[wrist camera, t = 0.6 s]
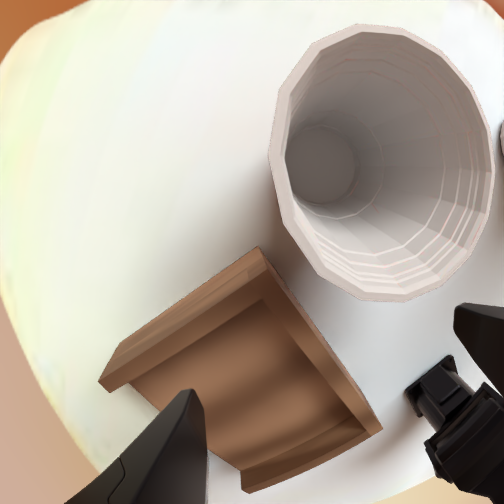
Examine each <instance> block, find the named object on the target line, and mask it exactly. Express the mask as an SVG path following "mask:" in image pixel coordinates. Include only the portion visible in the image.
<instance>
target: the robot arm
mask: <svg viewBox="0 0 504 504" xmlns="http://www.w3.org/2000/svg"><path fill="white" fill-rule="evenodd" d="M453 329H454V332H455V334H456V335H457V337H458V338H459V340H460V341H461V343H462V344H463V345H464V347H465V348H466V350H467V351H468V353H469V354H470V356H471V357H472V359H473V360H474V362H475V363H476V364H477V365H478V367H479V368H480V369H481V370H482V371H483V373H484V374H485V375H486V376H487V378H488V379H489V380H490V381H491V383H492V384H493V385H494V386H495V388H496V389H497V390H498V391H499V393H500V394H501V395H502V396H501V395H499V394H498V393H497V392H496V391H495V390H494V389H493V388H491V387H490V386H489V385H488V384H487V383H486V382H483V383H482V384H481V387H480V388H479V389H478V390H477V391H476V392H474V391H473V390H472V389H471V388H470V387H469V386H468V385H467V384H466V383H465V382H464V381H463V380H462V379H461V378H460V377H459V376H458V372H457V368H456V365H455V361H454V357H453V356H452V355H448V356H447V357H446V358H444V359H443V360H442V361H441V362H440V363H439V364H437V365H436V366H435V367H434V368H433V369H431V370H430V371H429V372H428V373H426V374H425V375H424V376H423V377H421V378H420V379H419V380H417V381H416V382H415V383H414V384H412V385H411V386H410V387H408V388H407V389H406V391H405V392H406V395H407V397H408V399H409V401H410V403H411V405H412V407H413V409H414V411H415V413H416V415H417V416H418V417H422V416H423V415H424V416H425V417H426V419H427V420H428V422H429V423H430V424H431V426H432V427H433V428H434V430H435V431H436V433H435V434H434V435H433V436H432V437H431V438H430V439H427V440H426V441H425V442H424V445H425V447H426V449H425V450H426V452H427V454H428V456H429V458H430V460H431V462H432V464H433V467H434V471H435V475H436V477H437V478H443V479H444V480H446V481H447V482H449V483H450V484H452V483H453V482H454V484H455V485H456V486H457V488H458V489H459V490H461V491H464V492H468V493H472V494H476V495H481V496H484V497H488V498H490V500H491V501H492V503H493V504H504V307H497V306H488V305H480V304H472V303H462V304H460V305H458V306H456V307H455V310H454V323H453ZM119 457H120V458H119ZM119 457H118V458H117V459H116V460H115V461H114V462H113V463H112V464H111V465H110V466H109V467H108V468H107V469H106V470H104V471H103V472H102V473H101V474H100V475H99V476H98V477H97V478H96V479H95V480H93V481H92V482H91V483H90V484H88V485H87V486H86V487H85V488H84V489H82V490H81V491H80V492H79V493H77V494H76V495H75V496H73V497H72V498H71V499H69V500H68V501H67V502H66V503H64V504H205V498H206V474H207V439H206V426H205V413H204V408H203V406H202V404H201V402H200V399H199V397H198V395H197V393H196V391H195V390H194V389H192V388H190V389H184V390H181V391H180V392H179V393H178V394H177V395H176V396H175V397H174V398H173V399H172V400H171V401H170V403H169V404H168V405H167V406H166V407H165V408H164V409H163V410H162V411H161V412H160V413H159V414H158V416H157V417H156V418H155V419H154V420H153V421H152V422H151V423H150V424H149V425H148V426H147V427H146V428H145V429H144V431H143V432H142V433H141V434H140V435H139V436H138V437H137V438H136V439H135V440H134V441H133V442H132V443H131V444H130V445H129V446H128V447H127V448H126V449H125V450H124V451H123V452H122V454H121V455H120V456H119Z"/></svg>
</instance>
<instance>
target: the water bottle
mask: <svg viewBox="0 0 504 504" xmlns="http://www.w3.org/2000/svg"><path fill="white" fill-rule="evenodd" d="M500 138H501V146H502V153H503V156H504V121H503V123H502V129H501V134H500Z"/></svg>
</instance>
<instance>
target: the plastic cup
mask: <svg viewBox="0 0 504 504" xmlns="http://www.w3.org/2000/svg"><path fill="white" fill-rule="evenodd" d="M268 158H269V162H270V167H271V171H272V176H273V180H274V184H275V189H276V193H277V198H278V203H279V207H280V212H281V216H282V221H283V224H284V226H285V227H286V229H287V230H288V232H289V233H290V234H291V236H292V237H293V239H294V240H295V242H296V243H297V245H298V246H299V248H300V249H301V250H302V252H303V253H304V255H305V256H306V258H307V259H308V261H309V262H310V264H311V265H312V267H313V268H314V270H315V271H316V273H317V274H318V275H319V276H321V277H323V278H324V279H326V280H328V281H329V282H331V283H333V284H334V285H336V286H338V287H340V288H341V289H343V290H345V291H346V292H348V293H350V294H351V295H353V296H355V297H356V298H358V299H360V300H365V301H384V302H406V301H408V300H411V299H413V298H415V297H418V296H420V295H422V294H425V293H427V292H429V291H431V290H434V289H436V288H438V287H440V286H442V285H443V284H444V283H445V282H446V281H447V280H448V279H449V278H450V277H451V276H452V275H453V274H454V273H455V272H456V271H457V270H458V269H459V268H460V267H461V266H462V264H463V263H464V262H465V261H466V260H467V259H468V258H469V257H470V256H471V254H472V252H473V250H474V248H475V246H476V244H477V242H478V240H479V237H480V235H481V233H482V231H483V229H484V227H485V224H486V222H487V220H488V218H489V213H490V207H491V201H492V195H493V188H494V181H495V164H494V155H493V147H492V139H491V133H490V128H489V125H488V122H487V120H486V117H485V115H484V112H483V110H482V108H481V105H480V103H479V101H478V99H477V96H476V94H475V92H474V90H473V88H472V86H471V84H470V83H469V82H468V81H467V79H466V78H465V77H464V76H463V75H462V73H461V72H460V71H459V70H458V69H457V67H456V66H455V65H454V64H453V63H452V62H451V61H450V59H449V58H448V57H447V56H446V55H445V54H444V53H443V52H442V51H441V50H440V49H438V48H436V47H435V46H433V45H431V44H430V43H428V42H426V41H425V40H423V39H421V38H419V37H418V36H416V35H414V34H412V33H410V32H408V31H406V30H404V29H403V28H397V27H389V26H379V25H367V24H355V25H352V26H350V27H347V28H345V29H343V30H340V31H338V32H336V33H333V34H331V35H329V36H327V37H324V38H322V39H320V40H318V41H316V42H314V43H312V44H311V45H310V47H309V48H308V49H307V51H306V52H305V53H304V55H303V56H302V58H301V59H300V60H299V62H298V63H297V65H296V66H295V67H294V69H293V70H292V71H291V73H290V74H289V76H288V77H287V79H286V80H285V81H284V83H283V84H282V86H281V87H280V89H279V92H278V98H277V104H276V110H275V116H274V122H273V128H272V134H271V140H270V146H269V152H268Z"/></svg>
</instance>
